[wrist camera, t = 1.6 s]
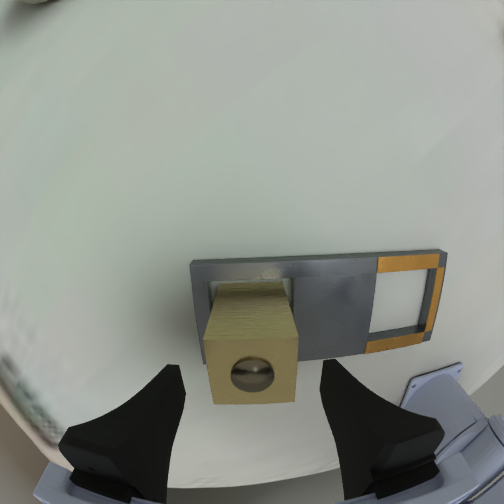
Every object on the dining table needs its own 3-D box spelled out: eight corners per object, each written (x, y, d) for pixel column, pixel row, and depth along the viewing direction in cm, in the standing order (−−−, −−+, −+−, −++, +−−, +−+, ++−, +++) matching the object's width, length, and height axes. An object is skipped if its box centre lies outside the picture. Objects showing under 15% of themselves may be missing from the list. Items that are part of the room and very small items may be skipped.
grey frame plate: (423, 333, 21) (430, 340, 20) (205, 355, 21) (203, 365, 20) (439, 249, 19) (448, 253, 18) (193, 260, 19) (189, 265, 18)
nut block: (282, 334, 21) (294, 403, 13) (224, 336, 21) (213, 406, 13) (282, 281, 19) (299, 338, 12) (219, 283, 20) (202, 341, 12)
